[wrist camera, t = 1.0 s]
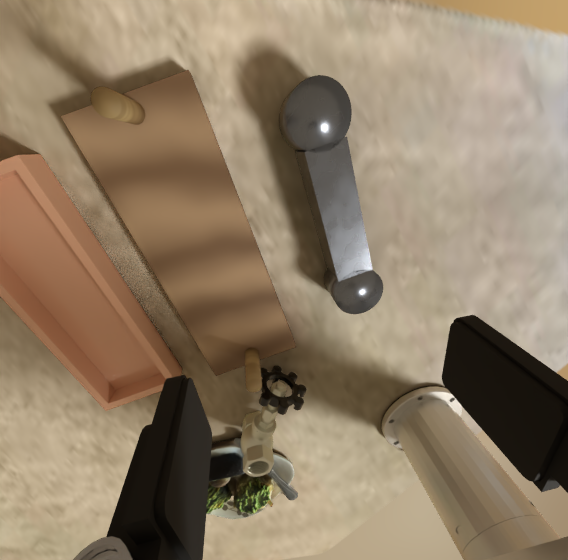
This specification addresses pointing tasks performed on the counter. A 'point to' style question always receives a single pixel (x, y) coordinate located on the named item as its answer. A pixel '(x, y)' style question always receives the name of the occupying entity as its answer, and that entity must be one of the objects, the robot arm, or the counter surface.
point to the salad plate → (244, 482)
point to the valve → (267, 420)
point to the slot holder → (74, 290)
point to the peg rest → (185, 217)
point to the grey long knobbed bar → (331, 188)
